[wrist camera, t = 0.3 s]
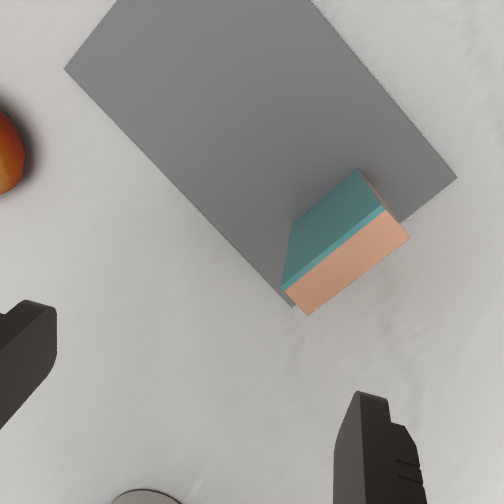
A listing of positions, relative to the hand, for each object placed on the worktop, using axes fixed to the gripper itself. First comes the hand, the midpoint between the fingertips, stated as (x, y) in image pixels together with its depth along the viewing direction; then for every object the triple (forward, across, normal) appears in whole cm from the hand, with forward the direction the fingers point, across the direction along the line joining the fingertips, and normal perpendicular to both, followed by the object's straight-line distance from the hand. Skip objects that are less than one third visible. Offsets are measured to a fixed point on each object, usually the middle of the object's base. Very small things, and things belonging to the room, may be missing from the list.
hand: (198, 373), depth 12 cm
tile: (+22, +4, -2) cm, 22 cm away
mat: (+23, -3, +2) cm, 23 cm away
